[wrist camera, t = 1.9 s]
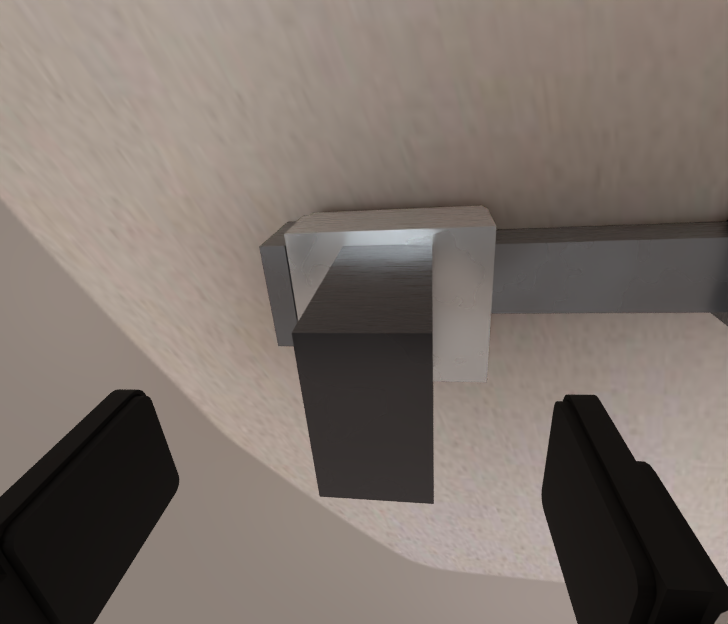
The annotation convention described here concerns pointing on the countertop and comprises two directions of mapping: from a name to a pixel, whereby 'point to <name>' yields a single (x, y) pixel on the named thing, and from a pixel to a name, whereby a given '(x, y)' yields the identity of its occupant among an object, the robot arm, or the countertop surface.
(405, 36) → the countertop surface
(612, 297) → the rail
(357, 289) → the carriage
